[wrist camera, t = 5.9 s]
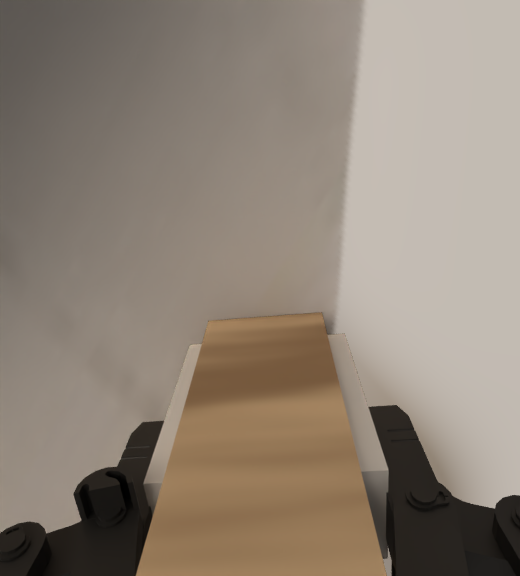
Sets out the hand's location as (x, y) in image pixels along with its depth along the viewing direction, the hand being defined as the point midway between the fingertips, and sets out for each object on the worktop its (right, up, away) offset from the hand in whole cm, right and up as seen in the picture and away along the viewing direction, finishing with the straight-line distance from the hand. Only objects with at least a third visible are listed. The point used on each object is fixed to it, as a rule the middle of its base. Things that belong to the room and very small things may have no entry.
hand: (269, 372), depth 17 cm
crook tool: (-2, -8, +4) cm, 9 cm away
